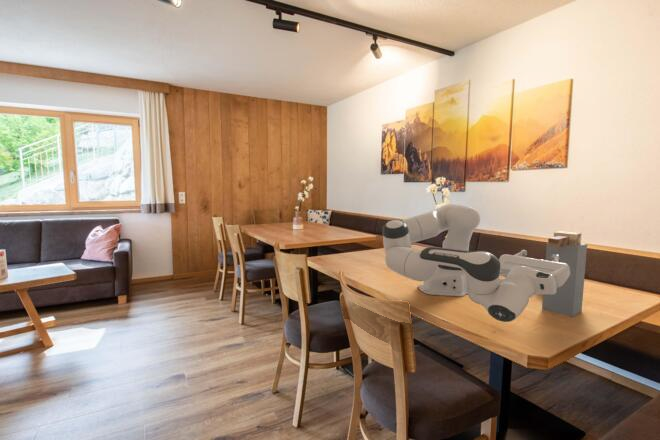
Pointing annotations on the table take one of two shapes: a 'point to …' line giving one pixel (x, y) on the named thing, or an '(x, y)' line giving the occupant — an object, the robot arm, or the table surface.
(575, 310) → the pedestal
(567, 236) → the mallet
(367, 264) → the table surface
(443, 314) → the table surface
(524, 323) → the table surface
